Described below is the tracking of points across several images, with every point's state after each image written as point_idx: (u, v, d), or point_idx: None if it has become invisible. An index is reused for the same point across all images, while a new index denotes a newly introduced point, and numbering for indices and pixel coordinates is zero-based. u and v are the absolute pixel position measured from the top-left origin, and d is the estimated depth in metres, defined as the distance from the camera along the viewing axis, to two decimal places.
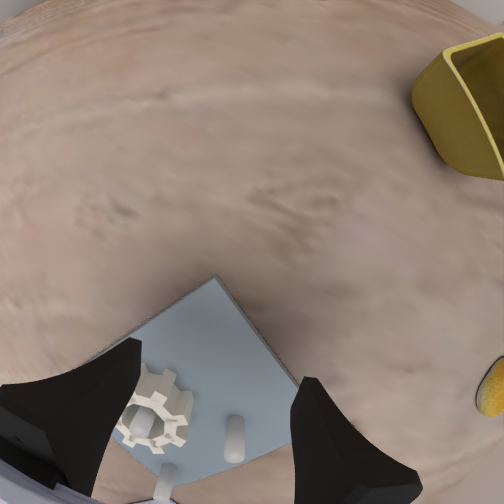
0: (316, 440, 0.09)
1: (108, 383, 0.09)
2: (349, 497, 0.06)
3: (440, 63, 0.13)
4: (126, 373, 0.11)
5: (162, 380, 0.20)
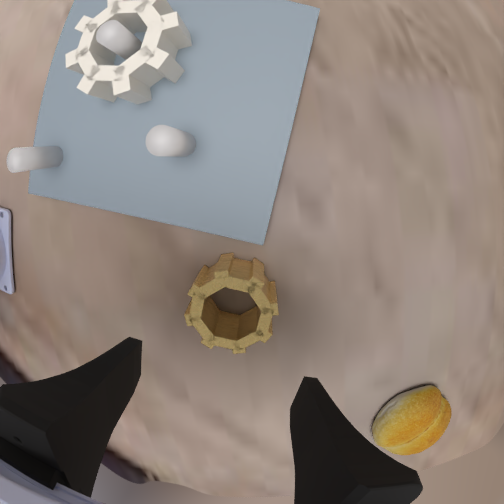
0: (316, 440, 0.09)
1: (108, 383, 0.09)
2: (349, 498, 0.06)
3: None
4: (126, 373, 0.11)
5: (183, 24, 0.14)
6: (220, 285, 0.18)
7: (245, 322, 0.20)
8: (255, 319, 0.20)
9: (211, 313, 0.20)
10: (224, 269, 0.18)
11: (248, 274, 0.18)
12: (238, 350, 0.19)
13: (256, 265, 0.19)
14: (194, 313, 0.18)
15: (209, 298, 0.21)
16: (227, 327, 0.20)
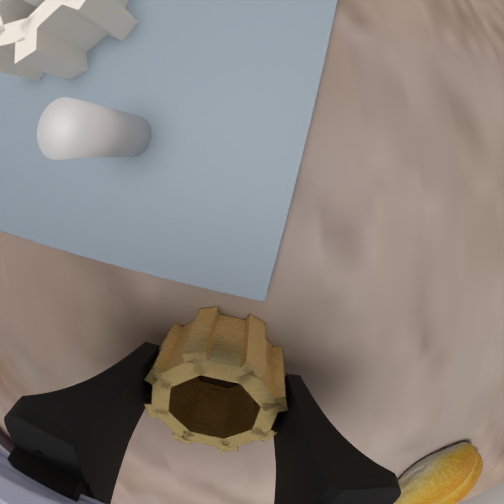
0: (295, 438, 0.09)
1: (129, 390, 0.09)
2: (321, 498, 0.06)
3: None
4: None
5: None
6: (193, 372, 0.10)
7: (237, 405, 0.13)
8: (252, 404, 0.12)
9: (187, 393, 0.13)
10: (199, 348, 0.10)
11: (240, 351, 0.11)
12: (227, 448, 0.11)
13: (253, 331, 0.12)
14: (158, 404, 0.11)
15: None
16: (211, 413, 0.12)
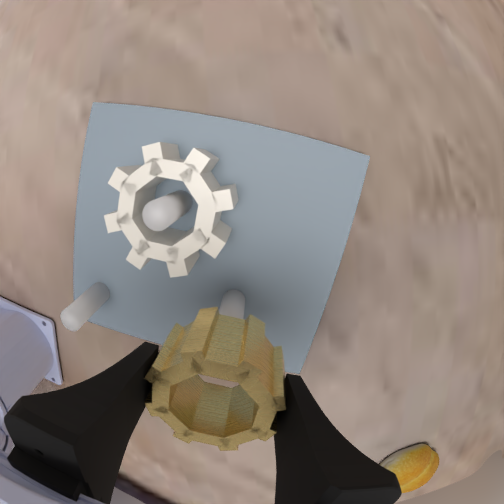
0: (295, 438, 0.09)
1: (128, 390, 0.09)
2: (322, 498, 0.06)
3: None
4: (144, 379, 0.11)
5: (233, 189, 0.16)
6: (192, 371, 0.10)
7: (238, 405, 0.13)
8: (252, 404, 0.12)
9: (188, 393, 0.13)
10: (197, 347, 0.10)
11: (238, 350, 0.11)
12: (227, 447, 0.11)
13: (252, 331, 0.12)
14: (158, 403, 0.11)
15: None
16: (211, 413, 0.12)
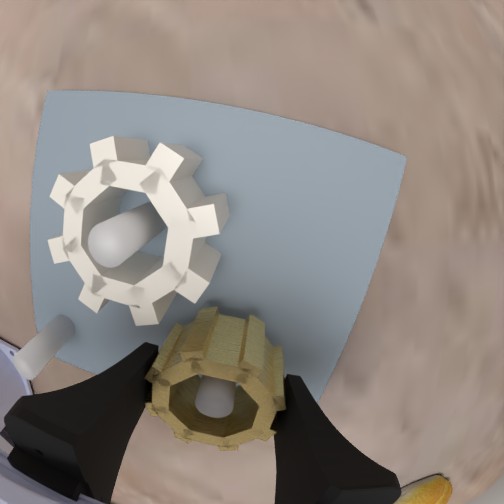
0: (295, 438, 0.09)
1: (128, 390, 0.09)
2: (322, 498, 0.06)
3: None
4: (144, 379, 0.11)
5: (221, 202, 0.11)
6: (192, 371, 0.10)
7: (238, 405, 0.13)
8: (252, 404, 0.12)
9: (188, 392, 0.13)
10: (197, 347, 0.10)
11: (238, 350, 0.11)
12: (227, 447, 0.11)
13: (252, 330, 0.12)
14: (158, 402, 0.11)
15: None
16: None
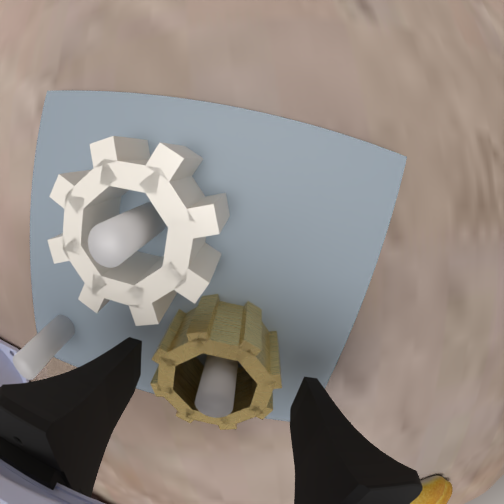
0: (316, 440, 0.09)
1: (108, 383, 0.09)
2: (349, 497, 0.06)
3: None
4: (126, 373, 0.11)
5: (220, 202, 0.11)
6: (196, 351, 0.11)
7: (236, 386, 0.14)
8: (249, 385, 0.14)
9: (190, 375, 0.14)
10: (201, 328, 0.11)
11: (238, 332, 0.12)
12: (227, 426, 0.13)
13: (250, 315, 0.13)
14: (163, 383, 0.12)
15: None
16: None
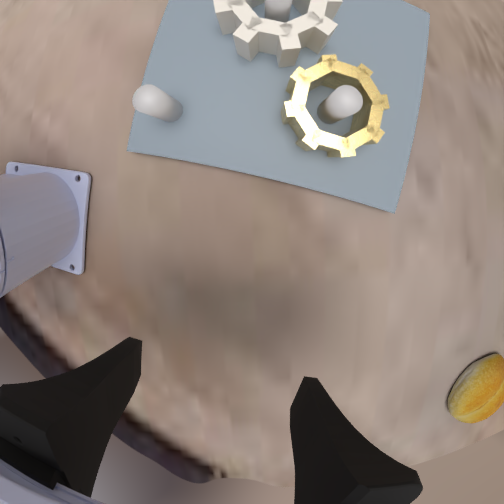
0: (316, 440, 0.09)
1: (108, 383, 0.09)
2: (349, 497, 0.06)
3: None
4: (126, 373, 0.11)
5: None
6: (328, 68, 0.13)
7: (345, 135, 0.16)
8: (357, 128, 0.16)
9: None
10: None
11: None
12: (347, 152, 0.15)
13: None
14: (297, 100, 0.14)
15: None
16: None
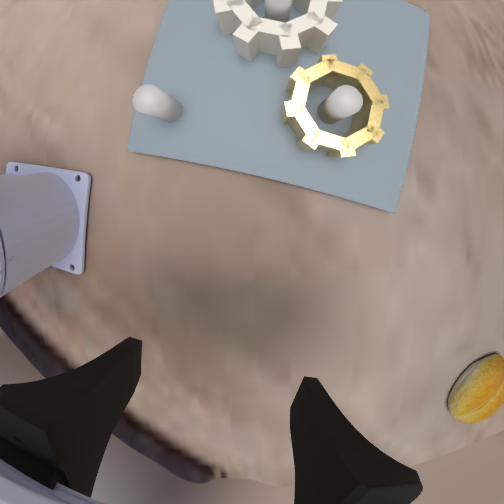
0: (316, 440, 0.09)
1: (108, 383, 0.09)
2: (349, 497, 0.06)
3: None
4: (126, 373, 0.11)
5: None
6: (328, 68, 0.13)
7: (345, 135, 0.16)
8: (357, 128, 0.16)
9: None
10: None
11: None
12: (347, 152, 0.15)
13: None
14: (297, 100, 0.14)
15: None
16: None
